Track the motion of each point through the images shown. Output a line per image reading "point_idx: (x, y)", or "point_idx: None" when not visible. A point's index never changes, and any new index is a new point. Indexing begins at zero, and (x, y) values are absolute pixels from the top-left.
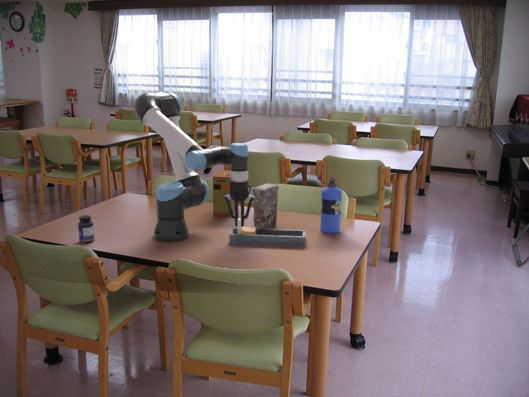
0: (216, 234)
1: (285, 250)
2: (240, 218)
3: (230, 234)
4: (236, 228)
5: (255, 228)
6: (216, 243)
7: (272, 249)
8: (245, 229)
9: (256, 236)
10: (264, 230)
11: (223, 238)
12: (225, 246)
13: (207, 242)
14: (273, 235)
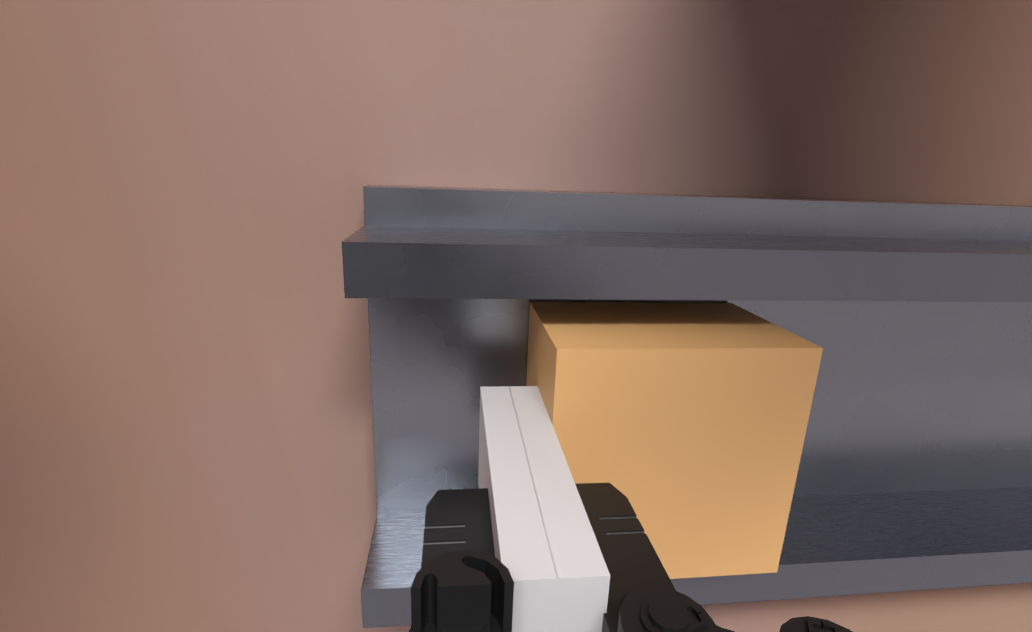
0: (55, 144)
1: (977, 616)
2: (573, 593)
3: (380, 618)
4: (427, 295)
5: (807, 412)
6: (208, 543)
7: (863, 613)
8: (627, 492)
9: (770, 587)
10: (920, 298)
11: (245, 338)
12: (354, 618)
13: (65, 527)
14: (1006, 556)
